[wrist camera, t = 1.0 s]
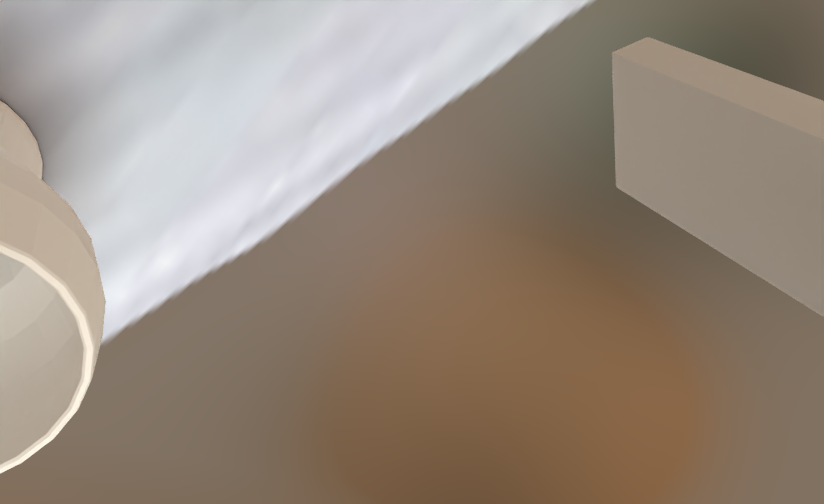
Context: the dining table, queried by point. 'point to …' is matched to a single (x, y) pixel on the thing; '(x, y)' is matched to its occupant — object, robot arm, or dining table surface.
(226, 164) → the dining table surface
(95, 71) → the dining table surface
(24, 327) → the cup
